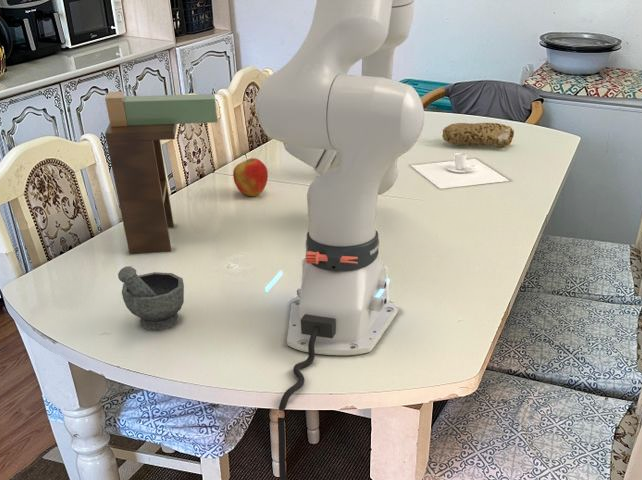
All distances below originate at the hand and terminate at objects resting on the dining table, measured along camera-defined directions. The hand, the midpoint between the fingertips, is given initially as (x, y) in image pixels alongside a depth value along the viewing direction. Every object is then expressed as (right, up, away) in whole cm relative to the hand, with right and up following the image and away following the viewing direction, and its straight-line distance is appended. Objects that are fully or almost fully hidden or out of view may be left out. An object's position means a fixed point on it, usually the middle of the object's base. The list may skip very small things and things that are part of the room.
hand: (262, 117), depth 139 cm
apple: (-9, -8, +32) cm, 34 cm away
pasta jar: (-18, -2, -4) cm, 19 cm away
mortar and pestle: (-13, -42, -22) cm, 49 cm away
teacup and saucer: (+43, +1, +49) cm, 65 cm away
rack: (-22, -23, +8) cm, 33 cm away
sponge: (+50, +15, +71) cm, 89 cm away
